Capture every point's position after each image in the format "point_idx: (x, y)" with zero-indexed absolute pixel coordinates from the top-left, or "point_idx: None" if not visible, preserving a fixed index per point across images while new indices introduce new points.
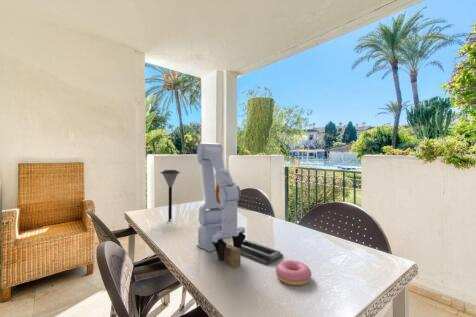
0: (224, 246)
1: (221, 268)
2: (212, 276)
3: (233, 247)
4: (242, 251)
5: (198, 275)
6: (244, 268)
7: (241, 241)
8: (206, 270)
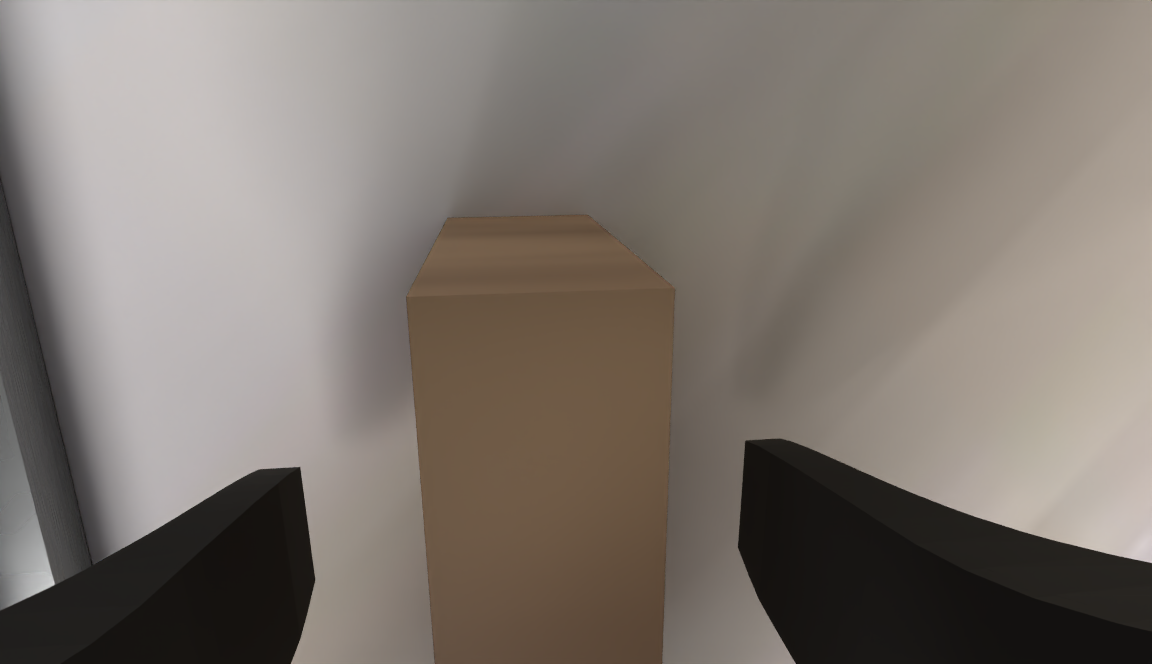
0: (1103, 585)
1: (773, 377)
2: (1057, 267)
3: (521, 547)
4: (3, 605)
5: (1143, 432)
6: (467, 70)
7: (5, 656)
8: (969, 478)
